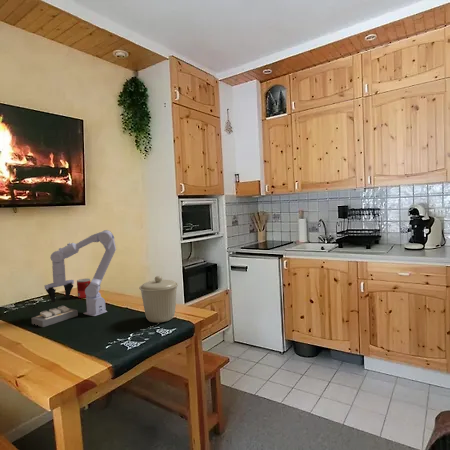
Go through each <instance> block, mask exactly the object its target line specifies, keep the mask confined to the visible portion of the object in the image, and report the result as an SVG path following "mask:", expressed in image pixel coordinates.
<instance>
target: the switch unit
mask: <svg viewBox="0 0 450 450" xmlns="http://www.w3.org/2000/svg"><path fill="white" fill-rule="evenodd" d="M68 308H69V307H68ZM50 313H51V312H50ZM78 315H79V314H78V310H77V309H74V308H71V307H70V308H69V311H66V312H62V311H61V313H59V314H56V315H54V314H52V316H50V317H44V316H42V315H40V314H39V315H36V316H34V317H31V325H34V324H35V325H34V326H37V325H38V327H41V328H45V327H48V326H51V325H55V324H57V323H60V322H63V321H67V320H69V319H72V318H76V317H78Z"/></svg>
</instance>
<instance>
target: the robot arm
mask: <svg viewBox="0 0 450 450" xmlns="http://www.w3.org/2000/svg"><path fill="white" fill-rule="evenodd" d="M99 242H100V243H101V244H102V245H103V248H104V249H105V251H104V253H103V255H102V258H101V260H100V262H99V265H98V267H97V268H96V271H95V273H94V275H93V278H92V279H91V280H90V282H91V283H90V284H89V285H88V287H87V288H86V289H85V294H86V298H85V303H86V311H85V312H83V314H84V315H87V316H92V317H96V316H99V315H102V314H105V313H108V311H107V309H106V308H107V307H106V300H105V298H104V297H102V295H101V292H100V291H101V285H102V281H103V279H104V277H105V275H106V272H107V270H108V268H109V265H110V264H111V261H112V259H113V257H114V254H115V253H116V250H117V247H116V241H115V237H114V234H113V233H112V232H111V230H108V229H105V230H103V231H100V232H96V233H94V234H91V235H89V236H88V237H86V238H84V239H82V240H80V241H79V242H77V243H74V242H69V243H67V245H65V246H64V247H60V248H58V250H55V251H53V252H52V253H51V255H50V260H51V263H52V264H51V265H52V266H51V267H52V281H53V282H51V283H47V284H45V285H44V290H45V291H46V293H47V294H48V296H49V299H50V301H51V303H56V289H55V288H58V287H63V288H64V293H65V295H64V296H65V299H66V300H67V299H70V296H71V292H72V290H73V288H74V284H75V280H74V279H69V280H66V279H67V278H66V264H65V259H68V258H70V257H72V256H74V255H76V254H78V253H79V251H80V249H82V248H83V247H86V246H88V245H90V244H92V243H99Z"/></svg>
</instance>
